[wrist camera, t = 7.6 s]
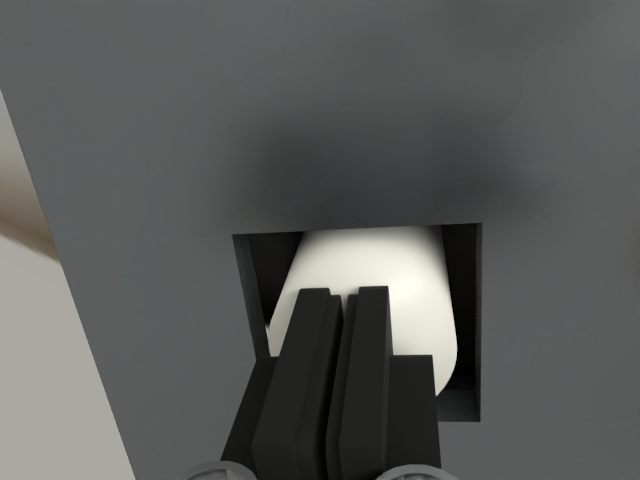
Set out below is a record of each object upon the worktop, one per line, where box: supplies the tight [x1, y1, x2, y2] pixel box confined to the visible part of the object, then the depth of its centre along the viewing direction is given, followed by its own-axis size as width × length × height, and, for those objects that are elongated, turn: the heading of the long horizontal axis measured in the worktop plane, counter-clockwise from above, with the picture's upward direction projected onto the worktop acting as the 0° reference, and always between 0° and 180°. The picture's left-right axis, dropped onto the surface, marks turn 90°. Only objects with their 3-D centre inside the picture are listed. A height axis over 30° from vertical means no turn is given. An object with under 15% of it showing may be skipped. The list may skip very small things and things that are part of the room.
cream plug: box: [268, 225, 457, 396], centre depth 14 cm, size 4×4×6 cm
